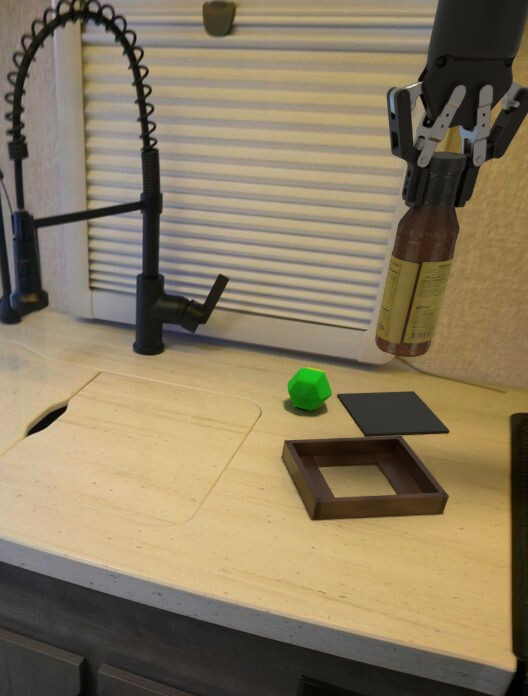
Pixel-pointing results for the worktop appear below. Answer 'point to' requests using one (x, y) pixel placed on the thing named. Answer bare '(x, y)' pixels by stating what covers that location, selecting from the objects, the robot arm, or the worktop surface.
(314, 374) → the green faceted block
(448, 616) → the worktop surface
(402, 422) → the rubber mat
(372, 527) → the worktop surface
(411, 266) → the sauce bottle
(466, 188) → the robot arm
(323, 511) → the picture frame
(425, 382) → the worktop surface
